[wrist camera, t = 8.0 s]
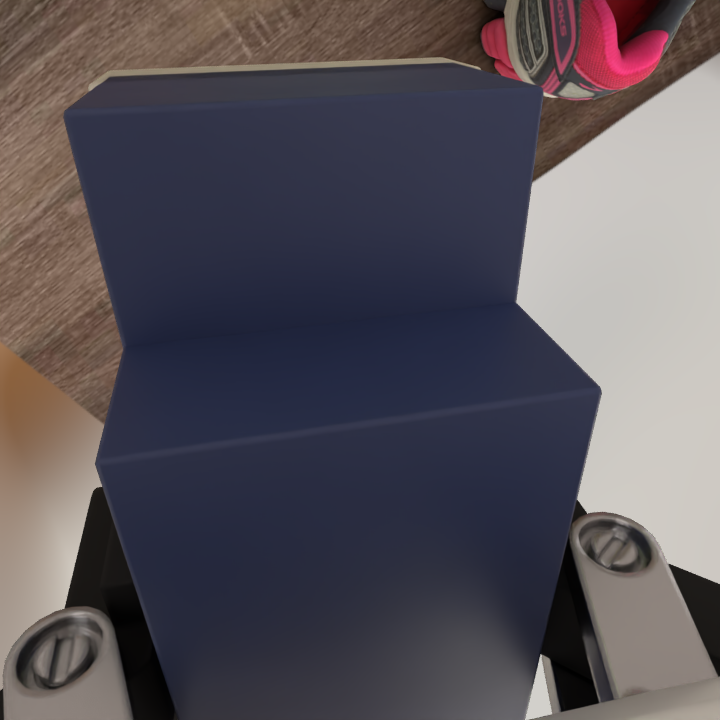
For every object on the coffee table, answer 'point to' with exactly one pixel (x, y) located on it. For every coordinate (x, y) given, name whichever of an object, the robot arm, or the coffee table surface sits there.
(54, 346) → the coffee table surface
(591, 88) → the running shoe
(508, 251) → the navy stepped block
